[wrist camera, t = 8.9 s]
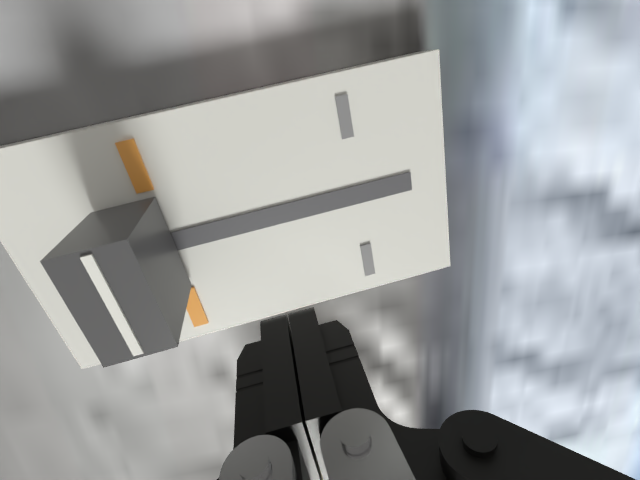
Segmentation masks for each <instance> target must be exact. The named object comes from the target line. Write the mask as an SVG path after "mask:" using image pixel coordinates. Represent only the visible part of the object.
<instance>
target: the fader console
mask: <svg viewBox="0 0 640 480" xmlns="http://www.w3.org/2000/svg"><path fill="white" fill-rule="evenodd" d="M152 197H156V199H157V202H158V204H159V206H160V209H161V211H162V214H163V216H164V219H165V221H166V223H167V226H168V228H169V231H170V233H171V236H172V238H173V241H174V243H175V245H176V248H177V250H178V253H179V255H180V258H181V260H182V262H183V265H184V267H185V270H186V272H187V275H188V277H189V279H190V282H191V284H192V285H191V290H190V294H189V299H188V303H187V308H186V312H185V317H184V321H183V326H182V330H181V335H180V339H179V342H181V341H185V340H188V339H192V338H195V337H199V336H202V335H206V334H210V333H213V332H217V331H220V330H224V329H227V328H231V327H235V326H238V325H242V324H245V323H249V322H252V321H256V320H260V319H263V318H267V317H270V316H274V315H277V314H281V313H285V312H288V311H292V310H295V309H299V308H302V307H306V306H309V305H313V304H317V303H320V302H324V301H327V300H331V299H334V298H338V297H342V296H345V295H349V294H352V293H356V292H359V291H363V290H367V289H370V288H374V287H377V286H381V285H384V284H388V283H392V282H395V281H399V280H402V279H406V278H409V277H413V276H417V275H420V274H424V273H427V272H431V271H434V270H438V269H442V268H445V267H449V266H450V250H449V231H448V212H447V193H446V174H445V155H444V136H443V117H442V98H441V78H440V59H439V49H438V50H428V51H420V52H415V53H411V54H406V55H402V56H397V57H393V58H389V59H384V60H380V61H375V62H371V63H366V64H362V65H357V66H353V67H349V68H344V69H340V70H335V71H331V72H326V73H322V74H318V75H313V76H309V77H304V78H300V79H295V80H291V81H287V82H282V83H278V84H273V85H269V86H264V87H260V88H255V89H251V90H247V91H242V92H238V93H233V94H229V95H224V96H220V97H216V98H211V99H207V100H202V101H198V102H193V103H189V104H184V105H180V106H176V107H171V108H167V109H162V110H158V111H153V112H149V113H145V114H140V115H136V116H131V117H127V118H122V119H118V120H114V121H109V122H105V123H100V124H96V125H91V126H87V127H82V128H78V129H74V130H69V131H65V132H60V133H56V134H51V135H47V136H43V137H38V138H34V139H29V140H25V141H20V142H16V143H12V144H7V145H3V146H0V241H1V243H2V245H3V246H4V248H5V249H6V251H7V252H8V254H9V256H10V257H11V259H12V260H13V262H14V263H15V265H16V267H17V268H18V270H19V271H20V273H21V274H22V276H23V278H24V279H25V281H26V282H27V284H28V285H29V287H30V289H31V290H32V292H33V293H34V295H35V296H36V298H37V300H38V301H39V303H40V304H41V306H42V307H43V309H44V311H45V312H46V314H47V315H48V317H49V318H50V320H51V322H52V323H53V325H54V326H55V328H56V329H57V331H58V333H59V334H60V336H61V337H62V339H63V340H64V342H65V344H66V345H67V347H68V348H69V350H70V351H71V353H72V355H73V356H74V358H75V359H76V361H77V362H78V364H79V366H80V367H81V369H85V368H88V367H92V366H95V365H99V364H101V362H100V361H99V359H98V357H97V356H96V354H95V352H94V351H93V349H92V347H91V346H90V344H89V342H88V341H87V339H86V337H85V336H84V334H83V332H82V331H81V329H80V327H79V326H78V324H77V322H76V321H75V319H74V317H73V316H72V314H71V312H70V311H69V309H68V307H67V306H66V304H65V302H64V301H63V299H62V297H61V296H60V294H59V292H58V291H57V289H56V287H55V286H54V284H53V282H52V281H51V279H50V277H49V276H48V274H47V272H46V271H45V269H44V267H43V266H42V264H41V262H40V261H41V260H42V259H43V258H44V257H45V256H46V255H47V254H48V253H49V252H50V251H51V250H52V249H53V248H54V247H55V246H56V245H57V244H58V243H59V242H60V241H61V240H63V239H64V238H65V237H66V236H67V235H68V234H69V233H70V232H71V231H72V230H73V229H74V228H75V227H76V226H77V225H78V224H79V223H80V222H81V221H82V220H83V219H84V218H85V217H86V216H87V215H89V214H90V213H91V212H95V211H99V210H103V209H107V208H111V207H115V206H119V205H123V204H127V203H131V202H135V201H139V200H144V199H148V198H152Z"/></svg>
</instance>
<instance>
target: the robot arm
mask: <svg viewBox="0 0 640 480" xmlns="http://www.w3.org/2000/svg"><path fill="white" fill-rule="evenodd" d="M288 315H289V321H288V317H287V315H283V316H279V317H276V318H272V319H268V320H264V321H261V322H260V327H261V341H258V342H254V343H251V344H247V345H245V347H244V349H243V350H242V352H241V354H240V356H239V358H238V360H237V379H236V391H237V393H236V404H235V429H234V448H233V451H232V452H231V453H230V454H229V455H228V457H227V458H226V460H225V462H224V463H223V466H222V468H221V471H220V476H219V478H218V479H217V480H322V477H323V480H636V479H633V478H631V477H629V476H627V475H625V474H622V473H620V472H618V471H616V470H614V469H611V468H609V467H607V466H605V465H603V464H600V463H598V462H596V461H594V460H592V459H590V458H587V457H585V456H583V455H581V454H579V453H576V452H574V451H572V450H570V449H568V448H565V447H563V446H561V445H559V444H557V443H555V442H552V441H550V440H548V439H546V438H544V437H541V436H539V435H537V434H535V433H533V432H530V431H528V430H526V429H524V428H522V427H519V426H517V425H515V424H513V423H511V422H509V421H506V420H504V419H502V418H500V417H498V416H495V415H493V414H490V413H488V412H484V411H479V410H465V411H460V412H457V413H455V414H453V415H451V416H450V417H448V418H447V419H446V420H445V421H444V423H443V424H442V426H441V428H440V429H417V428H409V427H405V426H402V425H399V424H397V423H395V422H393V421H391V420H390V419H388V418H387V417H386V416H385V415H384V414H383V413H382V412H381V410H380V409H379V407H378V405H377V403H376V400H375V398H374V395H373V393H372V390H371V387H370V385H369V382H368V380H367V377H366V374H365V372H364V369H363V366H362V364H361V361H360V359H359V356H358V353H357V351H356V348H355V346H354V343H353V340H352V338H351V335H350V333H349V330H348V329H347V328H345V327H344V326H343V325H342V324H341V323H339V322H338V321H337V320H336V321H332V322H328V323H325V324H321V325H318V322H317V318H316V314H315V311H314V307H313V308H309V309H305V310H302V311H298V312H294V313H290V314H288ZM289 322H290V324H289ZM320 470H321V471H320ZM321 474H322V477H321Z"/></svg>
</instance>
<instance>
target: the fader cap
mask: <svg viewBox="0 0 640 480" xmlns="http://www.w3.org/2000/svg"><path fill="white" fill-rule="evenodd" d="M40 262H41V264H42V266H43V267H44V269H45V271H46V272H47V274H48V276H49V277H50V279H51V281H52V282H53V284H54V286H55V287H56V289H57V291H58V292H59V294H60V296H61V297H62V299H63V301H64V302H65V304H66V306H67V307H68V309H69V311H70V312H71V314H72V316H73V317H74V319H75V321H76V322H77V324H78V326H79V327H80V329H81V331H82V332H83V334H84V336H85V337H86V339H87V341H88V342H89V344H90V346H91V347H92V349H93V351H94V352H95V354H96V356H97V357H98V359H99V361H100V362H101V364H102V366H103V367H107V366H111V365H114V364H118V363H121V362H125V361H129V360H132V359H136V358H139V357H143V356H146V355H150V354H153V353H157V352H161V351H164V350H168V349H171V348H175V347H178V344H179V339H180V335H181V330H182V326H183V321H184V317H185V312H186V308H187V303H188V299H189V294H190V290H191V285H192V284H191V282H190V279H189V277H188V275H187V272H186V270H185V267H184V265H183V262H182V260H181V258H180V255H179V253H178V250H177V248H176V245H175V243H174V241H173V238H172V236H171V233H170V231H169V228H168V226H167V223H166V221H165V219H164V216H163V214H162V211H161V209H160V206H159V204H158V202H157V199H156V197H152V198H148V199H144V200H139V201H135V202H131V203H127V204H123V205H119V206H115V207H111V208H107V209H103V210H99V211H95V212H91V213H90V214H89V215H87V216H86V217H85V218H84V219H83V220H82V221H81V222H80V223H79V224H78V225H77V226H76V227H75V228H74V229H73V230H72V231H71V232H70V233H69V234H68V235H67V236H66V237H65V238H64V239H63V240H61V241H60V242H59V243H58V244H57V245H56V246H55V247H54V248H53V249H52V250H51V251H50V252H49V253H48V254H47V255H46V256H45V257H44V258H43V259H42V260H41V261H40Z"/></svg>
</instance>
